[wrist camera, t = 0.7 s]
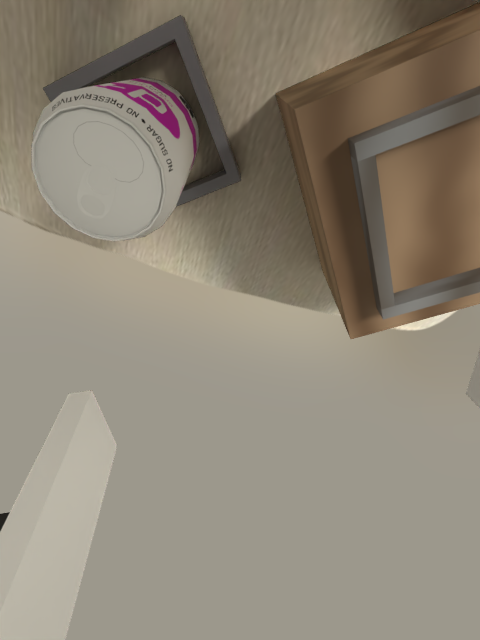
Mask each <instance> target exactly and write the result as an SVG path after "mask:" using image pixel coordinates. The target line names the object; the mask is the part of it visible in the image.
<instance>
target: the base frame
mask: <svg viewBox="0 0 480 640" xmlns="http://www.w3.org/2000/svg"><path fill="white" fill-rule="evenodd" d="M174 42H176V43H177V46H178V49H179V51H180V54H181V56H182V59H183V62H184V64H185V67H186V69H187V72H188V75H189V77H190V80H191V82H192V85H193V88H194V90H195V93H196V95H197V98H198V101H199V103H200V106H201V109H202V111H203V114H204V116H205V119H206V122H207V124H208V127H209V129H210V132H211V135H212V137H213V140H214V142H215V145H216V148H217V150H218V153H219V155H220V158H221V161H222V163H223V166H224V168H225V169H224V170H222V171H219V172H217V173H215V174H212V175H210V176H207V177H205V178H202V179H200V180H198V181H195V182H193V183H190V184H188V185H185V186H184V188H183V190H182V193H181V195H180V197H179V200H178V202H177V205H176V206H179V205H181V204H184V203H186V202H189V201H191V200H194V199H196V198H199V197H201V196H204V195H206V194H209V193H211V192H214V191H216V190H219V189H221V188H224V187H226V186H229V185H231V184H234V183H236V182H239V181H241V174H240V171H239V168H238V165H237V163H236V160H235V157H234V154H233V152H232V149H231V146H230V143H229V141H228V138H227V135H226V132H225V129H224V127H223V124H222V121H221V118H220V116H219V113H218V110H217V107H216V105H215V102H214V99H213V96H212V93H211V91H210V88H209V85H208V82H207V80H206V77H205V74H204V71H203V68H202V66H201V63H200V60H199V57H198V55H197V52H196V49H195V46H194V44H193V41H192V38H191V35H190V32H189V30H188V27H187V24H186V21H185V19H184V17H183V16H181V15H180V16H178V17H176V18H174V19H172V20H171V21H169V22H167V23H165V24H163V25H161V26H159V27H157V28H155V29H154V30H152V31H150V32H148V33H146V34H144V35H142V36H140V37H138V38H136V39H135V40H133V41H131V42H129V43H127V44H125V45H123V46H121V47H119V48H118V49H116V50H114V51H112V52H110V53H108V54H106V55H104V56H102V57H101V58H99V59H97V60H95V61H93V62H91V63H89V64H87V65H85V66H84V67H82V68H80V69H78V70H76V71H74V72H72V73H70V74H68V75H67V76H65V77H63V78H61V79H59V80H57V81H55V82H53V83H51V84H50V85H48V86H46V87H44V88H43V90H44V91H45V93H46V95H47V96H48V98H49V100H50V101H51V102H52V101H53V100H54V99H56V98H57V97H58V96H59V95H60V94H61V93H63V92H67V91H71V90H76V89H80V88H85V87H88V86H90V85H92V84H94V83H96V82H98V81H100V80H102V79H104V78H105V77H107V76H109V75H111V74H113V73H115V72H117V71H119V70H121V69H123V68H125V67H127V66H129V65H131V64H133V63H135V62H137V61H139V60H141V59H143V58H144V57H146V56H148V55H150V54H152V53H154V52H156V51H158V50H160V49H162V48H164V47H166V46H168V45H170V44H172V43H174Z"/></svg>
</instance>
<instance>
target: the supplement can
mask: <svg viewBox="0 0 480 640" xmlns="http://www.w3.org/2000/svg"><path fill="white" fill-rule="evenodd" d="M198 148H199V131H198V124H197V121H196V119H195V116H194V114H193V111H192V108H191V107H190V105H189V104H188V103H187V102H186V100H185V99H184V98H183V96H182V95H181V94H180V93H179V92H178V91H177V90H175V89H174V88H172V87H171V86H169V85H168V84H166V83H165V82H163V81H160V80H155V79H150V78H146V77H142V78H137V79H131V80H125V81H119V82H113V83H107V84H101V85H95V86H89V87H85V88H80V89H76V90H71V91H67V92H63V93H61V94H60V95H59V96H58V97H57V98H56V99H54V100H53V101H52V102H51V103H50V104H48V105H47V106H46V107H45V108H44V109H43V110H42V113H41V115H40V117H39V120H38V122H37V125H36V127H35V129H34V132H33V143H32V171H33V174H34V177H35V180H36V183H37V186H38V188H39V191H40V193H41V195H42V196H43V198H44V199H45V200H46V202H47V203H48V205H49V206H50V207H51V209H52V210H53V212H54V213H55V214H56V215H57V216H59V217H60V218H61V219H62V220H63V221H65V222H66V223H67V224H68V225H69V226H71V227H72V228H73V229H75V230H77V231H79V232H82V233H84V234H86V235H88V236H90V237H92V238H96V239H102V240H109V241H119V240H129V239H135V238H141V237H145V236H147V235H148V234H150V233H152V232H153V231H155V230H156V229H158V228H160V227H161V226H163V224H164V223H165V221H166V220H167V219H168V217H169V216H170V215H171V213H172V212H173V210H174V209H175V207H176V205H177V202H178V200H179V197H180V195H181V193H182V190H183V188H184V186H185V183H186V181H187V179H188V176H189V174H190V171H191V169H192V167H193V164H194V162H195V159H196V155H197V151H198Z"/></svg>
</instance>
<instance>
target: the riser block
mask: <svg viewBox="0 0 480 640" xmlns="http://www.w3.org/2000/svg"><path fill="white" fill-rule="evenodd" d="M276 97H277V101H278V105H279V109H280V112H281V116H282V120H283V124H284V127H285V131H286V135H287V139H288V143H289V146H290V150H291V154H292V158H293V161H294V165H295V169H296V173H297V176H298V180H299V184H300V188H301V191H302V195H303V199H304V203H305V206H306V210H307V214H308V218H309V221H310V225H311V229H312V233H313V236H314V240H315V244H316V248H317V251H318V255H319V259H320V263H321V266H322V270H323V273H324V275H325V278H326V280H327V283H328V285H329V287H330V290H331V292H332V295H333V297H334V300H335V302H336V305H337V307H338V309H339V312H340V314H341V317H342V319H343V322H344V324H345V327H346V329H347V331H348V334H349V336H350V338H351V339H354V338H357V337H361V336H365V335H368V334H372V333H375V332H379V331H383V330H386V329H390V328H394V327H397V326H401V325H404V324H408V323H412V322H415V321H419V320H423V319H426V318H430V317H433V316H437V315H441V314H444V313H448V312H452V311H455V310H459V309H462V308H466V307H470V306H473V305H477V304H480V2H479V3H477V4H475V5H473V6H470V7H468V8H466V9H464V10H461V11H459V12H457V13H455V14H452V15H450V16H448V17H446V18H443V19H441V20H439V21H437V22H435V23H432V24H430V25H428V26H426V27H423V28H421V29H419V30H417V31H414V32H412V33H410V34H408V35H405V36H403V37H401V38H399V39H396V40H394V41H392V42H390V43H387V44H385V45H383V46H381V47H379V48H376V49H374V50H372V51H370V52H367V53H365V54H363V55H361V56H358V57H356V58H354V59H352V60H349V61H347V62H345V63H343V64H340V65H338V66H336V67H334V68H332V69H329V70H327V71H325V72H323V73H320V74H318V75H316V76H314V77H311V78H309V79H307V80H305V81H302V82H300V83H298V84H296V85H293V86H291V87H289V88H287V89H285V90H282V91H280V92H278V93H276Z"/></svg>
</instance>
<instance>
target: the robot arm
mask: <svg viewBox="0 0 480 640" xmlns="http://www.w3.org/2000/svg"><path fill="white" fill-rule="evenodd" d="M466 394H467V395H468V397H470V399H471V400H472V401H473V402H474V403H475V404H476V405H477V406H478V407H479V408H480V350H479V353H478V356H477V360H476V363H475V366H474V370H473V373H472V376H471V379H470V382H469V386H468V389H467V392H466ZM116 448H117V445H116V443H115V440H114V438H113V436H112V433H111V431H110V429H109V427H108V425H107V423H106V420H105V418H104V416H103V414H102V412H101V409H100V407H99V405H98V403H97V401H96V399H95V396H94V394H93V392H92V390H90V391H83V392H77V393H70V394H68V396H67V398H66V400H65V402H64V404H63V406H62V408H61V410H60V412H59V414H58V416H57V418H56V420H55V422H54V424H53V426H52V428H51V430H50V432H49V434H48V436H47V439H46V440H45V443H44V444H43V446H42V448H41V450H40V452H39V455H38V457H37V459H36V461H35V463H34V465H33V467H32V469H31V471H30V473H29V475H28V477H27V479H26V481H25V483H24V485H23V487H22V489H21V491H20V493H19V495H18V497H17V499H16V501H15V503H14V506H13V507H12V509H11V511H10V512H9V513H3V514H0V640H65V639H66V635H67V631H68V628H69V624H70V620H71V617H72V613H73V609H74V605H75V602H76V598H77V594H78V590H79V587H80V583H81V579H82V575H83V572H84V568H85V564H86V560H87V556H88V553H89V549H90V545H91V541H92V538H93V534H94V530H95V527H96V523H97V519H98V516H99V512H100V508H101V504H102V501H103V497H104V493H105V489H106V486H107V481H108V478H109V474H110V471H111V467H112V463H113V459H114V456H115V452H116Z"/></svg>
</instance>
